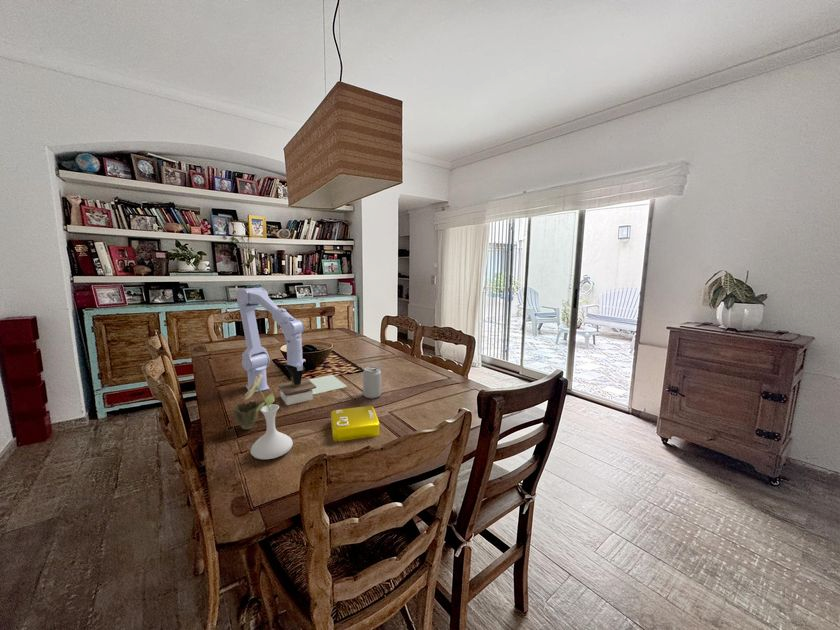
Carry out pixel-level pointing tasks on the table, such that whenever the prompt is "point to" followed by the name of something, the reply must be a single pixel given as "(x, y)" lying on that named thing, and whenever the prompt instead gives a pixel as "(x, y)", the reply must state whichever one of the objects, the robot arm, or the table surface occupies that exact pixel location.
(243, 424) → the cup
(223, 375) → the table surface
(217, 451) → the table surface
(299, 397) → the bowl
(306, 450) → the table surface
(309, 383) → the lid
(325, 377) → the mat
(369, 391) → the can
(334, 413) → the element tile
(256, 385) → the flower in vase
